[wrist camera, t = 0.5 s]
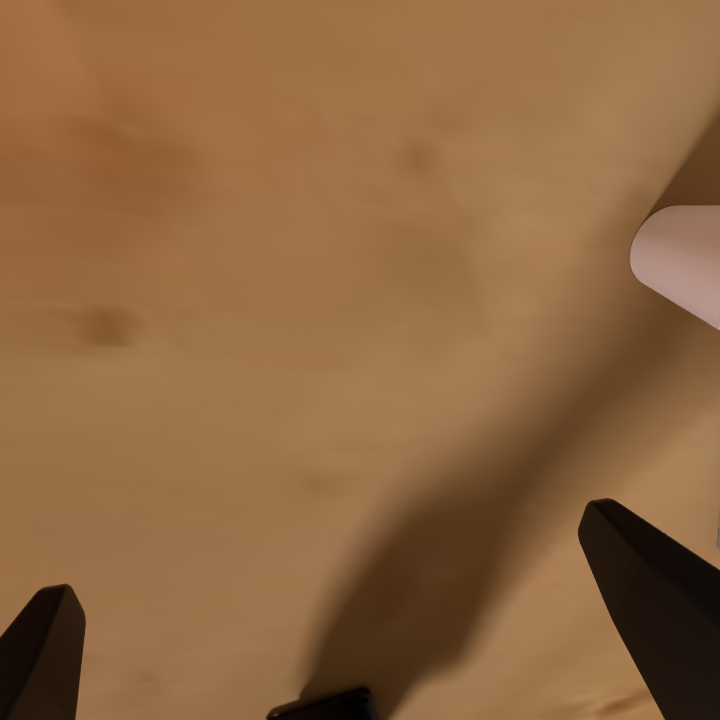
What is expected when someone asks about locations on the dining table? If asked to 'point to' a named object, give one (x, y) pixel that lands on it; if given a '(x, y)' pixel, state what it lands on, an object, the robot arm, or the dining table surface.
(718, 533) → the slate trivet
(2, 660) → the robot arm
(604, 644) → the dining table surface
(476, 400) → the dining table surface
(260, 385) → the dining table surface
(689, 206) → the smoothie
